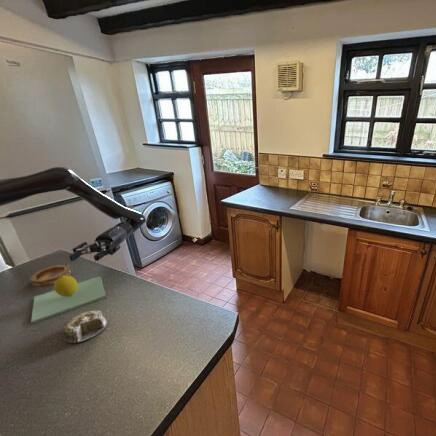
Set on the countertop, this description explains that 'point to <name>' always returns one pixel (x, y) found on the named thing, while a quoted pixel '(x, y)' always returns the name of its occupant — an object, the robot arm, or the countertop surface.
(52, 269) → the holder
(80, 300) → the mat
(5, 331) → the countertop surface
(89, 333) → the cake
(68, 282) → the lemon
